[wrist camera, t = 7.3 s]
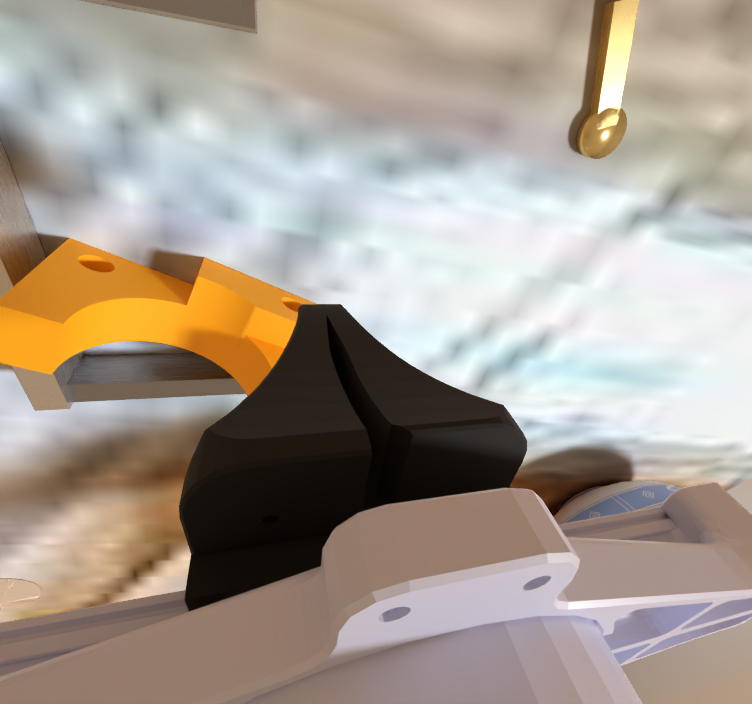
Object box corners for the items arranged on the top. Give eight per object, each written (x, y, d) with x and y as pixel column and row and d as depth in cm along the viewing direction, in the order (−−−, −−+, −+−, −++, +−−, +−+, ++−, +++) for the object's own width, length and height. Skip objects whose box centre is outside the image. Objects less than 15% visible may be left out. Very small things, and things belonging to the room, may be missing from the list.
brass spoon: (611, 149, 21) (621, 152, 21) (571, 161, 21) (580, 164, 21) (638, -6, 17) (652, -9, 17) (589, 7, 17) (601, 5, 16)
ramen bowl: (696, 411, 41) (775, 475, 35) (661, 505, 55) (713, 563, 49) (482, 497, 42) (520, 575, 35) (503, 568, 56) (533, 633, 50)
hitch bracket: (268, 366, 25) (269, 398, 22) (60, 373, 22) (35, 410, 19) (255, -8, 14) (253, -22, 12) (-150, -95, 11) (-259, -136, 9)
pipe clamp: (315, 302, 23) (329, 369, 18) (285, 355, 25) (289, 429, 20) (78, 203, 17) (-1, 260, 12) (61, 281, 19) (-14, 359, 14)
